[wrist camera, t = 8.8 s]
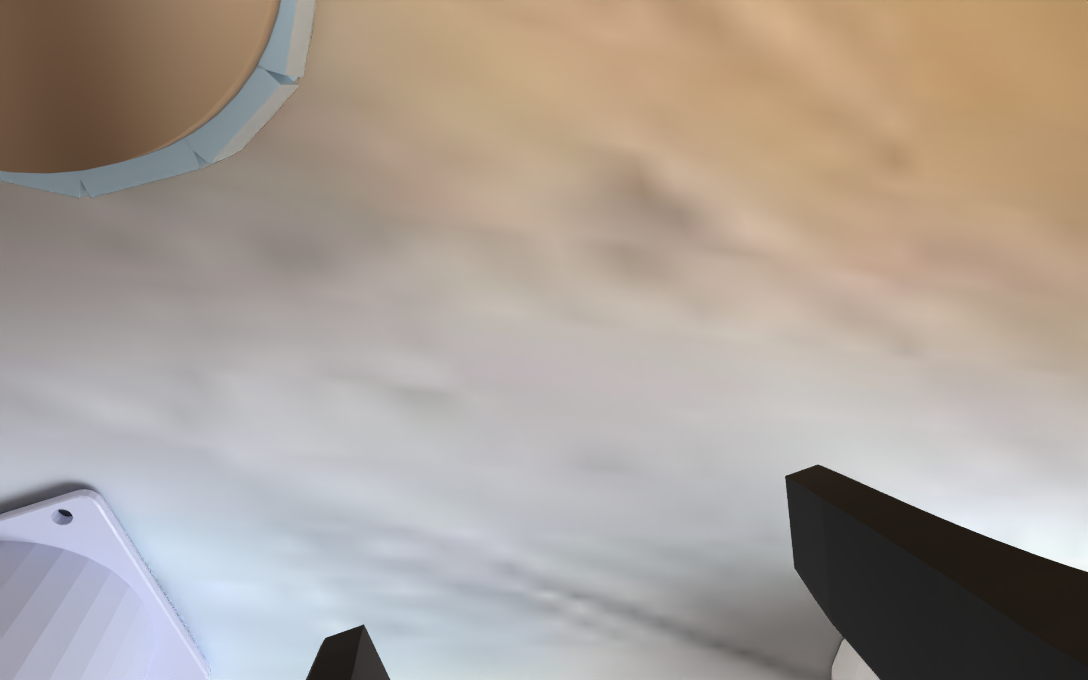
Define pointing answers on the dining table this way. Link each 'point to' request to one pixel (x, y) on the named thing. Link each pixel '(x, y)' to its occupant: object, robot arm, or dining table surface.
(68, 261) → the dining table surface
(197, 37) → the lid
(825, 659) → the dining table surface
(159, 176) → the bowl
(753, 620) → the dining table surface
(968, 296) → the dining table surface
